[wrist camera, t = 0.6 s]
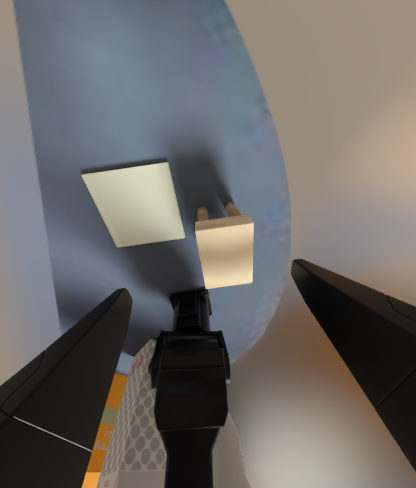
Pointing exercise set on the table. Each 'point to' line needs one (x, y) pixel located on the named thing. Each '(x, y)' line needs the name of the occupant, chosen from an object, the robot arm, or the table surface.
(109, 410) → the orange juice
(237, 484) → the chalice
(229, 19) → the table surface
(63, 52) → the table surface
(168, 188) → the mat
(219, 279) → the tan block with pegs
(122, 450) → the box
